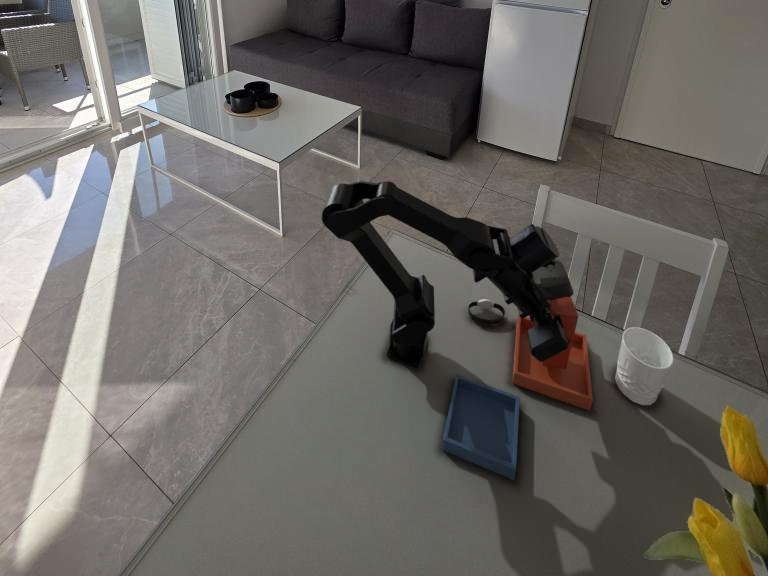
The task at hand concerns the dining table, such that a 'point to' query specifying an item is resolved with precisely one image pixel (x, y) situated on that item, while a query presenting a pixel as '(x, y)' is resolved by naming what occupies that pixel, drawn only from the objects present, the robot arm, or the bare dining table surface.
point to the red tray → (553, 370)
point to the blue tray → (483, 426)
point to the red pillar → (569, 321)
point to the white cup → (642, 365)
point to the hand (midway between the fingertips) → (563, 331)
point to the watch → (486, 305)
